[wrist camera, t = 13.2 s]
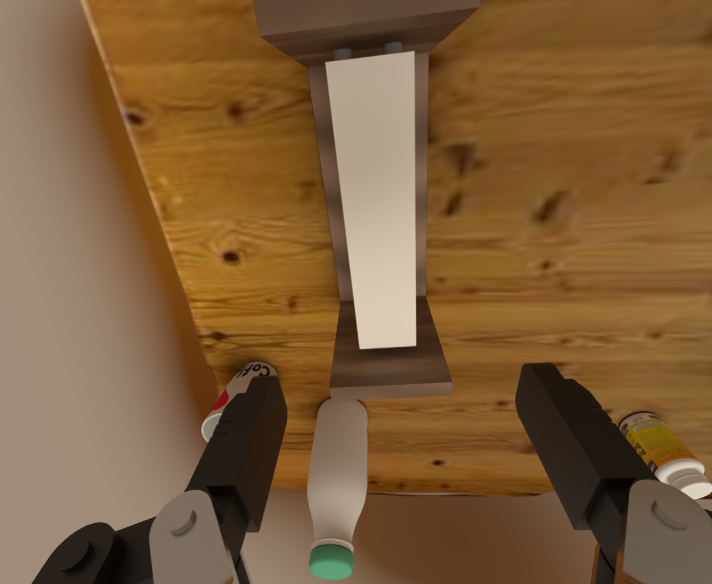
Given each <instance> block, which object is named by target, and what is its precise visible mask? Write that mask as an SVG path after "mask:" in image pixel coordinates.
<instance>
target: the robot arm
mask: <svg viewBox="0 0 712 584" xmlns="http://www.w3.org/2000/svg"><path fill="white" fill-rule="evenodd" d="M515 402H516V409H517V412H518V415H519V418H520V420H521V422H522V424H523V426H524V428H525V430H526V432H527V434H528V436H529V438H530V440H531V442H532V444H533V446H534V448H535V450H536V452H537V454H538V456H539V458H540V460H541V463H542V465H543V467H544V469H545V471H546V473H547V475H548V477H549V479H550V481H551V483H552V485H553V487H554V489H555V491H556V493H557V495H558V497H559V499H560V501H561V503H562V505H563V507H564V509H565V511H566V513H567V516H568V517H569V520H570V522H571V524H572V526H573V528H574V530H592V532H593V534H594V536H595V538H596V540H597V542H598V543H597V545H596V548H595V555H594V561H593V568H592V576H591V581H590V584H712V511H709V510H706V509H703V508H702V507H701V506H700V505H699V504H698V503H697V502H696V501H695V500H693V499H692V498H691V497H690V496H688V495H687V494H685V493H684V492H682V491H680V490H679V489H677V488H675V487H673V486H671V485H669V484H666V483H663V482H661V481H660V480H659V479H658V478H657V477H656V476H655V474H654V473H653V472H652V471H651V469H650V468H649V467H648V466H647V464H646V463H645V462H644V460H643V459H642V458H641V457H640V455H639V454H638V453H637V451H636V450H635V449H634V448H633V446H632V445H631V444H630V443H629V441H628V440H627V439H626V437H625V436H624V435H623V434H622V432H621V431H620V430H619V428H618V427H617V426H616V425H615V423H612V419H611V418H610V417H609V416H608V414H607V413H606V412H605V411H604V410H602V407H601V405H600V404H599V403H598V402H597V400H596V399H595V398H594V396H593V395H592V394H591V393H590V391H588V390H587V389H586V388H584V387H583V386H581V385H580V384H579V383H577V382H576V381H575V380H573V379H564V378H563V376H562V375H561V374H560V372H559V371H558V369H557V368H556V367H555V366H554V365H553V364H552V363H550V362H548V363H528V364H524V365H523V366H522V370H521V374H520V379H519V383H518V388H517V392H516V398H515ZM286 423H287V406H286V402H285V399H284V395H283V392H282V389H281V386H280V382H279V379H278V377H277V376H276V375H272V376H254V377H253V378H252V379H251V381H250V383H249V386H248V388H247V390H246V393H237V394H236V395H235V396H234V398H233V399H232V400H231V401H230V402H229V403H228V404H227V405H226V406H225V408H224V410H223V412H222V415H221V417H220V419H219V423H218V424H217V425H216V427H215V429H214V431H213V436H212V437H211V438H210V440H209V442H208V444H207V446H206V449H205V451H204V453H203V455H202V457H201V459H200V461H199V463H198V465H197V467H196V469H195V472H194V474H193V476H192V478H191V480H190V482H189V484H188V486H187V488H186V490H185V491H184V493H182V494H180V495H178V496H176V497H175V498H173V499H172V500H171V501H169V502H168V503H167V504H166V505H165V506H164V507H163V508H162V510H161V511H160V512H159V514H158V515H157V516H155V517H153V518H151V519H148V520H145V521H143V522H140V523H137V524H134V525H132V526H129V527H126V528H124V529H121V530H118V531H115V530H114V529H113V528H112V527H111V526H109V525H108V524H106V523H100V522H98V523H93V524H90V525H87V526H85V527H83V528H81V529H79V530H77V531H76V532H74V533H73V534H72V535H70V536H69V537H68V538H67V539H65V540H64V541H63V542H62V543H61V544H60V545H59V546H58V547H57V548H56V549H55V550H54V552H53V553H52V554H51V555H50V557H49V558H48V560H47V561H46V563H45V564H44V566H43V567H42V569H41V570H40V572H39V573H38V575H37V576H36V578H35V579H34V581H33V582H32V584H253V583H252V580H251V577H250V574H249V571H248V568H247V565H246V562H245V559H244V556H243V553H242V551H241V548H242V544H243V541H244V537H245V534H246V532H259V530H260V526H261V522H262V518H263V514H264V510H265V506H266V502H267V498H268V494H269V491H270V487H271V483H272V479H273V475H274V471H275V467H276V463H277V459H278V455H279V451H280V447H281V443H282V440H283V436H284V432H285V428H286Z"/></svg>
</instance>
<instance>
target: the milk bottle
mask: <svg viewBox="0 0 712 584" xmlns="http://www.w3.org/2000/svg"><path fill="white" fill-rule="evenodd" d="M367 472H368V419H367V411H366V409H365V407H364V405H363V404H362V403H361V402H359V401H358V400H337V401H332V400H331V398H330V399H328V400H326V401H325V402H324V403H323V404H322V405H321V406H320V408H319V411H318V416H317V422H316V428H315V434H314V441H313V447H312V454H311V460H310V467H309V475H308V485H307V492H308V493H307V494H308V503H309V507H310V511H311V515H312V519H313V525H314V535H315V538H314V543H313V544H312V546H311V549H312V550H311V554H310V560H309V570H310V572H311V573H312V574H313V575H314V576H316V577H319V578H322V579H328V580H338V579H344V578H346V577H348V576H349V575H350V574H351V573H352V570H353V550H354V549H353V546H352V545H351V542H352V536H353V532H354V528H355V525H356V522H357V520H358V517H359V515H360V513H361V511H362V508H363V505H364V502H365V497H366V491H367Z"/></svg>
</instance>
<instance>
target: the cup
mask: <svg viewBox="0 0 712 584" xmlns="http://www.w3.org/2000/svg"><path fill="white" fill-rule="evenodd" d="M272 375H276V376H277V377H278V375H277V372H276V370H275V369H274V368H273V367H272V366H271V365H269V364H267V363H264V362H251V363H249V364H247V365H246V366H245V367H244V368H243V369H242V370H240V371H239V372H238V373H237V374H236V375H235V376H234V377H233V379H232V380H231V381H230V383H229V384H228V385H227V387H226V388H225V389H224V390H223V392H222V393H221V394H220V396H219V397H218V399H217V401H216V403H215V404H214V406H213V408H212V409H211V411H210V413H209V414H208V416H207V418H206V419H205V421H204V423H203V425H202V435H203V437H204V438H205V440H206V441H207V442H209V440H210V438H211V437H212V436H213V431H214V429H215V427H216V425H217V424H218V423H219V419H220V417H221V415H222V412H223V410H224V408H225V406H226V405H227V404H228V403H229V402H230V401H231V400H232V399H233V398H234V396H235V395H236V394H237V393H246V390H247V388H248V386H249V383H250V381H251V379H252V378H253V377H254V376H272Z"/></svg>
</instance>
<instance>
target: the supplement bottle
mask: <svg viewBox="0 0 712 584" xmlns="http://www.w3.org/2000/svg"><path fill="white" fill-rule="evenodd" d="M620 431H621V432H622V434H623V435H624V436H625V437H626V439H627V440H628V441H629V443H630V444H631V445H632V446H633V448H634V449H635V450H636V451H637V453H638V454H639V455H640V457H641V458H642V459H643V460H644V462H645V463H646V464H647V466H648V467H649V468H650V469H651V471H652V472H653V473H654V474H655V476H656V477H657V478H658V479H659V480H660V481H661V482H663V483H666V484H669V485H671V486H673V487H675V488H677V489H679V490H680V491H682V492H684V493H685V494H687V495H688V496H690V497H691V498H692V499H698V498H701V497H704V496H706V495H708V494H709V493H710V492H711V491H712V484H711V483H710V482H709V481H708V480H707V478H706V477H705V476H704V475H703V473H704V466H703V464H702V463H701V462H700V461H699V460H698V459H697V458H696V457H695V456H694V455H693V454H692V453H691V452H690V450H689V449H688V448H687V447H686V446H685V445H684V444H683V443H682V442H681V441H680V440H679V439H678V438H677V437H676V435H675V434H674V433H673V432H672V431H671V430H670V429H669V428H668V427H667V426H666V425H665V424H664V423H663V422H662V421H661V419H660V418H659V417H657V416H656V415H654V414H651V413H638V414H634V415H632V416H630V417H628V418H626V419H625V420H624V421H623V422H622V423H621V425H620Z"/></svg>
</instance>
